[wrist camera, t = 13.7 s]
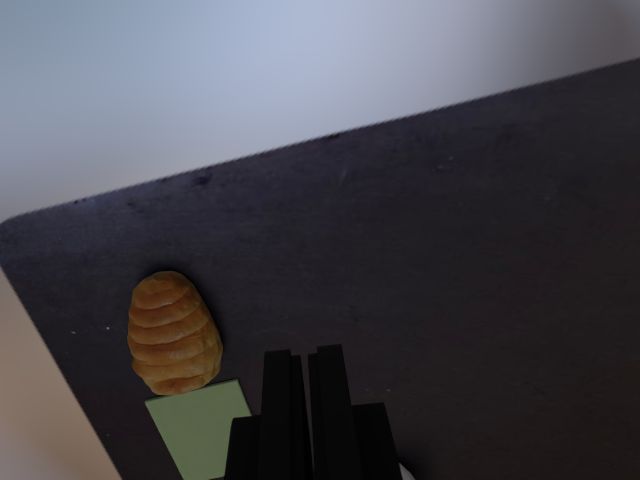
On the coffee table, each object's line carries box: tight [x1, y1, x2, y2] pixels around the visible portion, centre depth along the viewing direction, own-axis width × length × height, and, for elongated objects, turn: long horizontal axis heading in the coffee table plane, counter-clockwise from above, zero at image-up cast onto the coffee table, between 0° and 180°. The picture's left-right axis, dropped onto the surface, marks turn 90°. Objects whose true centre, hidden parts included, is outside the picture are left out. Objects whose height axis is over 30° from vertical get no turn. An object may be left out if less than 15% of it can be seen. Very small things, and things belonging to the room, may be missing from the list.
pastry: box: [127, 271, 223, 395], centre depth 37 cm, size 9×7×4 cm
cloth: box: [145, 379, 252, 480], centre depth 43 cm, size 10×8×1 cm
